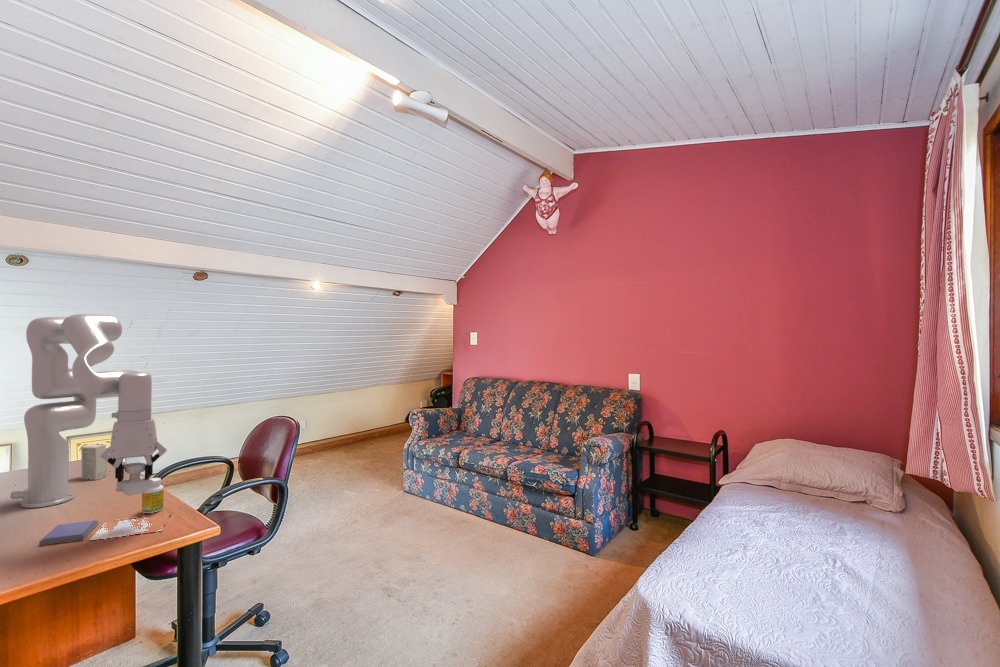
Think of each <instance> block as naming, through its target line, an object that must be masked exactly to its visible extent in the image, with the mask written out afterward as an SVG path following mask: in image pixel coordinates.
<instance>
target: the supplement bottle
mask: <svg viewBox="0 0 1000 667" xmlns="http://www.w3.org/2000/svg"><path fill="white" fill-rule="evenodd" d="M150 479H151V480H153V485H152V486H151V487H150V488H149V489H148V490H147V492H144V493H141V513H142V514H144V513H151V514H155V513H154V512H157V513H159V512H161V511H163V510H164V497H165V496H164V491H165V490H164V489H165V488H164V487H165V486H164V485H162V484H161V483H162V478H161V477H152V478H151V477H150ZM162 509H163V510H162ZM158 511H159V512H158Z"/></svg>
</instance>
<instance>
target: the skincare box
mask: <svg viewBox="0 0 1000 667" xmlns="http://www.w3.org/2000/svg"><path fill="white" fill-rule="evenodd" d="M80 450H81V480H88V479H89V480H91V481H96V480H100V479H103V478H106V477H107V461H106V460H104V459H103V458H101V454H103V453H104V452H105V451H106V450H107V445H106V444H93V443H92V444H88V445H83V446H81V448H80ZM89 480H88V481H89Z"/></svg>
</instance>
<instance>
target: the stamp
mask: <svg viewBox="0 0 1000 667" xmlns="http://www.w3.org/2000/svg"><path fill="white" fill-rule="evenodd" d="M122 465H123V468H124V473H127V474H129V478H124V479H123V480H122V481H121V482H117V481H116V487H115V488H114V489H115V490H114V491H115V492H117V493H120V492H121V493H123V494H125V495H127V496H130V497H131V496H135V495H140V494H142V493H144V492H147V490H148V489H149V488H150V487H151V486H152V485H153V480H151V478H149V479H145V475H144V476H143V475H141V473H143V472H144V473H145V466H146V462H145V463H144V462H141V461H134V462H129V463H124V464H122Z"/></svg>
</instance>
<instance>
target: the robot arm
mask: <svg viewBox="0 0 1000 667" xmlns="http://www.w3.org/2000/svg"><path fill="white" fill-rule="evenodd" d="M25 332H26V333H25V337H26V343H27V345H28V348H29V350H30V353H31V362H32V363H31V391H32V395H33V396H34V397H35V398H36V399H39V400H54V399H55V400H56V399H57V400H58V399H64V398H67V399H68V398H73V400H70V401H69V400H67V401H58V402H57V401H55V402H48V403H41V404H37V405H34V406H31V407H30V408H28V409H27V410H26V411H25V413H24V415H23V421H24V422H23V423H24V426H25V431H26V436H27V489H24V490H15V491H13V490H12V491H11V492H10V498H11V499H12V500H18V499H22V500H21V501H20V507H23V508H29V509H32V508H34V509H35V508H45V507H50V506H55V505H58V504H64V503H65V502H68V501H71V500H72V499H73V498H75V492H73V491H69V452H70V451H69V443H68V441H67V439H65V438H64V437H63V436H62V435H61V434H60V433H61V432H66V431H71V430H79V429H84V428H87V427H90V426H92V425H93V424H94V422H95V421H96V420H95V419H96V415H97V399H107V398H117V400H118V401H117V403H118V404H117V405H118V406H117V409H118V410H117V411H116V412H112V413H111V419H112V418H113V419H117V421H114V423H113V426H112V430H111V436H110V437H111V438H110V446H109V447H108V448H106V451H105V452H104V453H103V454H101V458H103V459H104V460H106V462H107V463H108V464H110V465H111V466H112V467H113V468H114V470H115V472H114V474H115V476H114V477H115V479H116V483H117V482H121V481H122V480H124V479H125V469H124V468H123V465H124V464H123V462H124V459H128V458H142V457H143V458H144V459H145V464H146V466H145V471H144V477H145V479H150V478H151V476H153V472H154V470H153V469H154V468H153V466H154V463H155V462H156V461H157V460H158V459H160V457H162V456H163V455H165V454H166V453H167V451H168V450H167V448H166V447H164V445H163V444H162V443H160V442H159V441H158V439H157V438H158V437H157V427H156V423H155V419H154V418H152V391H153V390H152V387H153V386H152V383H153V380H152V379H153V378H152V375H151V374H150V373H149V372H142V371H137V370H135V369H125V370H124V369H123V370H107V371H106V370H105V371H94V370H93V369H92V367H94V366H96V365H98V364H100V363H103V362H104V361H107V360H108V359H109V358H110V357H111V356H112V355H113V353H114V352H115V346H114V344H113V343H112V342H115V341H116V340H119V338H120V337H121V336H122V333H123V326H122V324H121V322H120V320H119V319H118V318H117V317H115V316H114V315H110V314H93V313H92V314H91V313H90V314H87V313H81V314H80V313H78V314H72V315H69V316H65V317H64V316H49V317H48V316H47V317H45V316H44V317H38V318H35V319H32V320H31V321H30V322H29V323H28V325H27V328H26V331H25ZM62 344H63V345H64V344H65V345H66V344H67V345H68V344H69V345H71V346H72V348H73V350H74V351H75V353H76V354H77V356H76V357H75V360H74V362H73V364H72V367H71V368H70V367H69V354H68V352H67V351H66V349H64V348H63V347H62V346H61V345H62ZM156 451H158V452H157V453H155V452H156ZM154 453H155V455H153V454H154Z"/></svg>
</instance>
